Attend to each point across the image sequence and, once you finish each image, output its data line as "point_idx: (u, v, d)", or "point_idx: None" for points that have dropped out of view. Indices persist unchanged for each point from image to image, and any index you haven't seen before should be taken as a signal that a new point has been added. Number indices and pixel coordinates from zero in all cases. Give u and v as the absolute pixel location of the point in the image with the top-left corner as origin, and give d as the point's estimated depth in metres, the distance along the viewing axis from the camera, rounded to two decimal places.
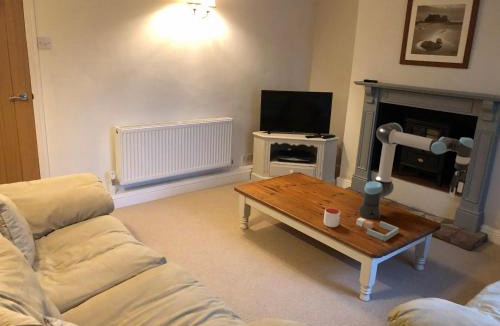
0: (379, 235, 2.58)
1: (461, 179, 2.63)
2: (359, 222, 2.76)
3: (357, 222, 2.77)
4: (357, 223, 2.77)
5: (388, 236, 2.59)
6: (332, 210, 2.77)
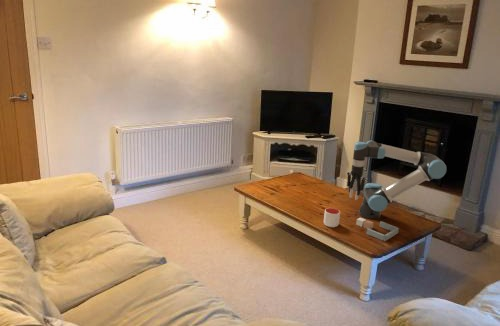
0: (379, 235, 2.58)
1: None
2: (359, 222, 2.76)
3: (357, 222, 2.77)
4: (357, 223, 2.77)
5: (388, 236, 2.59)
6: (332, 210, 2.77)
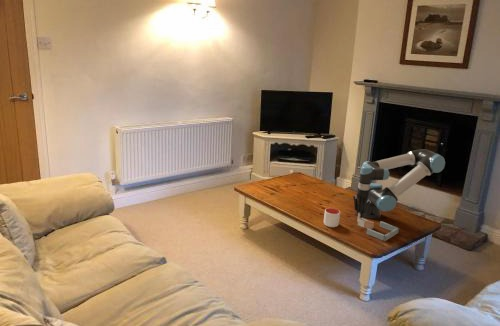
0: (379, 235, 2.58)
1: None
2: (360, 222, 2.75)
3: (359, 223, 2.75)
4: (359, 223, 2.76)
5: (388, 236, 2.59)
6: (332, 210, 2.77)
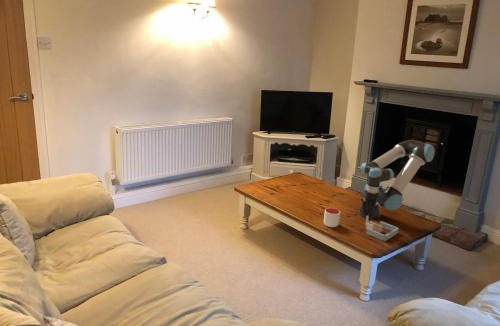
0: (379, 235, 2.58)
1: None
2: (369, 226, 2.70)
3: (367, 226, 2.71)
4: (367, 227, 2.71)
5: (388, 236, 2.59)
6: (332, 210, 2.77)
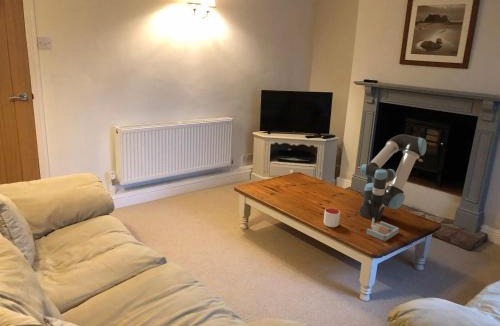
0: (379, 235, 2.58)
1: None
2: (374, 228, 2.67)
3: (373, 228, 2.68)
4: (373, 229, 2.68)
5: (388, 236, 2.59)
6: (332, 210, 2.77)
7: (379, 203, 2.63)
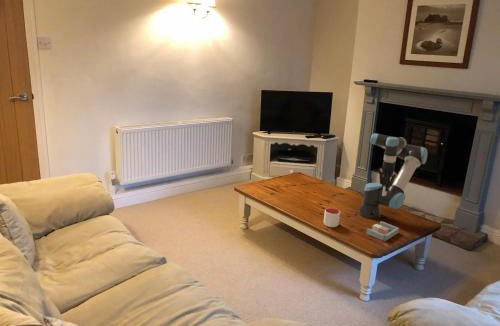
0: (379, 235, 2.58)
1: None
2: (374, 228, 2.67)
3: (373, 228, 2.68)
4: (373, 229, 2.68)
5: (388, 236, 2.59)
6: (332, 210, 2.77)
7: (390, 171, 2.63)
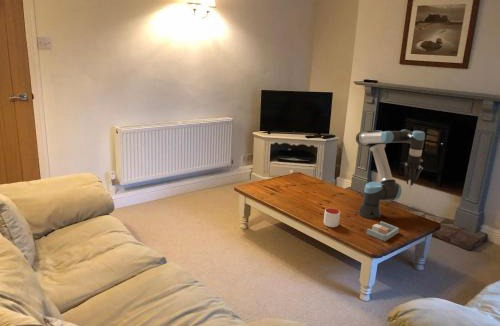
0: (379, 235, 2.58)
1: None
2: (374, 228, 2.67)
3: (373, 228, 2.68)
4: (373, 229, 2.68)
5: (388, 236, 2.59)
6: (332, 210, 2.77)
7: (416, 164, 2.64)
